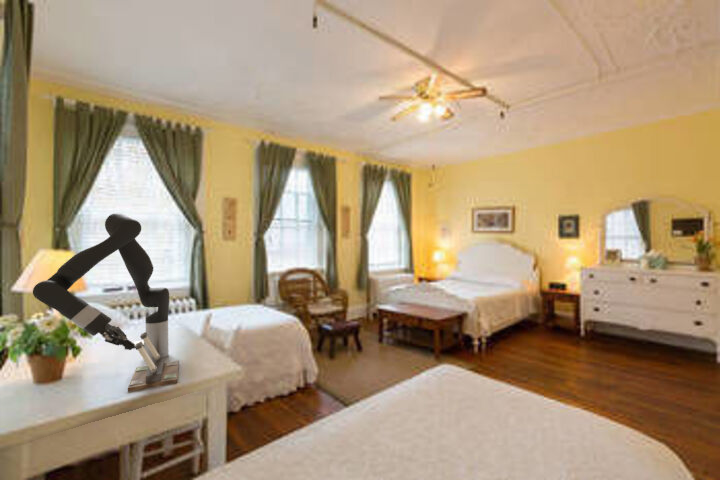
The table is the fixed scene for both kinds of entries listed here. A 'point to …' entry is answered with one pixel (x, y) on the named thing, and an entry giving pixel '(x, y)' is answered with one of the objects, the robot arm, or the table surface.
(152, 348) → the lever inner
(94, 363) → the table surface
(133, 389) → the switch board
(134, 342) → the phone case
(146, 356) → the lever outer
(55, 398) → the table surface
